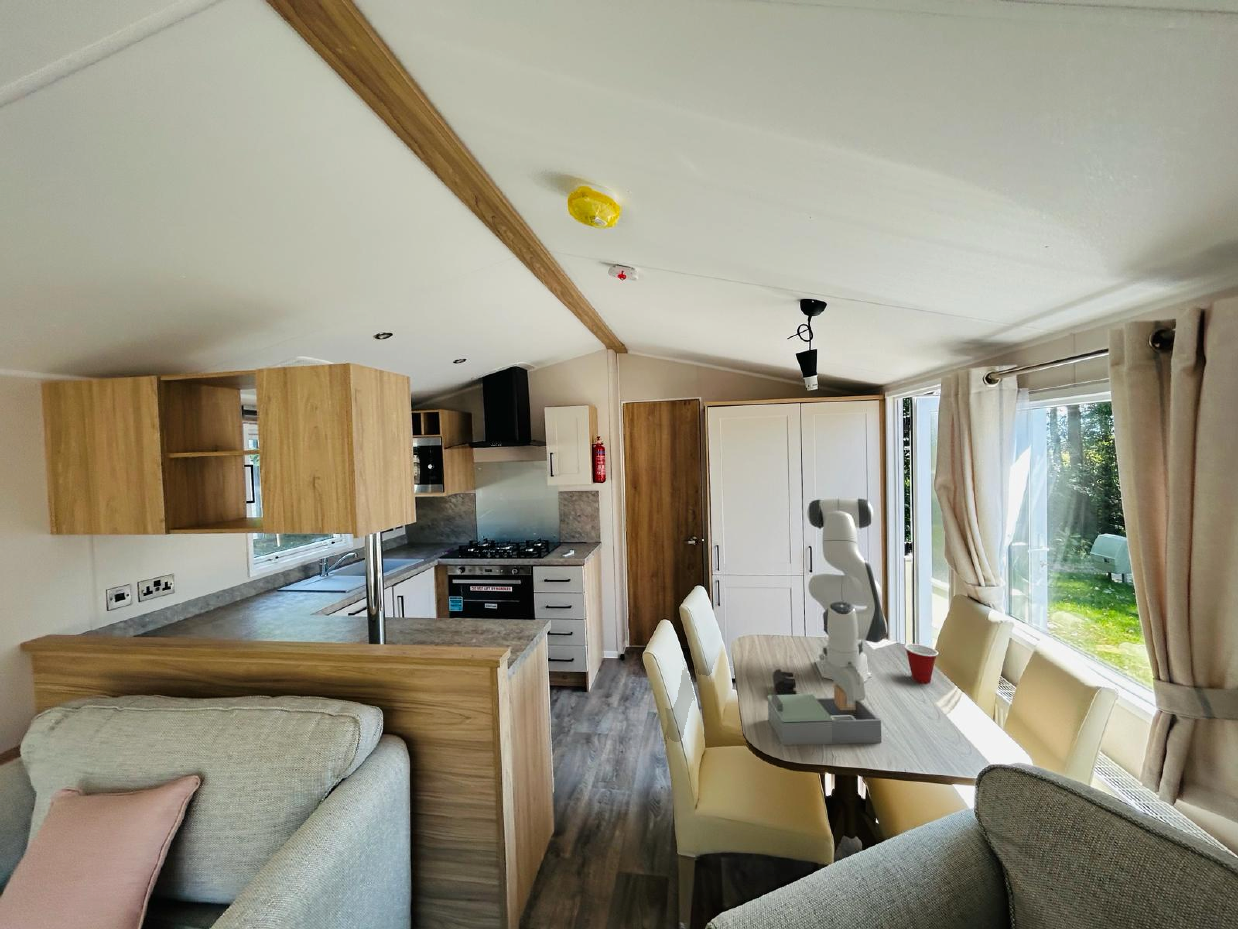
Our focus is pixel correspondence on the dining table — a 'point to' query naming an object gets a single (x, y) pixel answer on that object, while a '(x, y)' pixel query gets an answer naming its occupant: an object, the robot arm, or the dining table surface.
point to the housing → (830, 726)
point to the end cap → (784, 683)
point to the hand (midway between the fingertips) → (844, 701)
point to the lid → (798, 708)
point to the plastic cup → (921, 661)
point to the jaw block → (841, 699)
